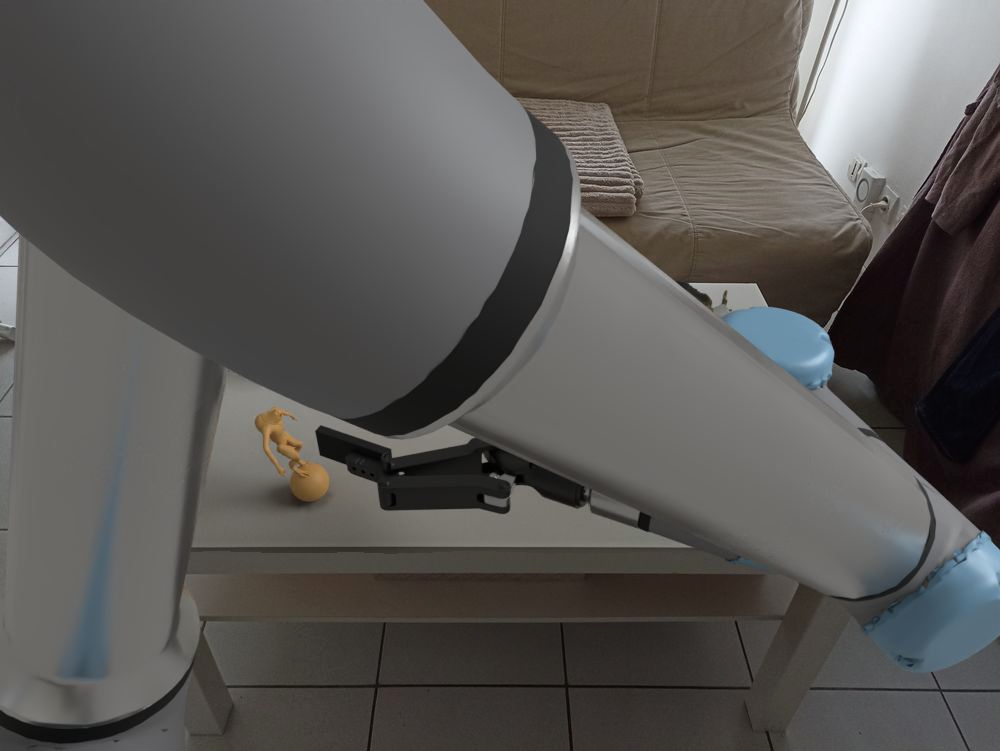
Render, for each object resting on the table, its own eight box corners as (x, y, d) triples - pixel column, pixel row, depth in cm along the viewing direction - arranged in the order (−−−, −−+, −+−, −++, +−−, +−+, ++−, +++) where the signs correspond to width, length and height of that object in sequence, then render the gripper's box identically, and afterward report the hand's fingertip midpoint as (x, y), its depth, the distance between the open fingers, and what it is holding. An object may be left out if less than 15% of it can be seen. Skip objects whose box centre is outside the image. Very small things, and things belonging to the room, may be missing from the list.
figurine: (327, 524, 76) (311, 437, 69) (267, 527, 76) (244, 440, 68) (335, 466, 83) (320, 381, 75) (279, 469, 82) (259, 383, 75)
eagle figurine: (715, 301, 109) (656, 290, 108) (738, 280, 102) (674, 268, 101) (713, 350, 106) (652, 339, 105) (736, 332, 99) (671, 320, 98)
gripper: (536, 620, 52) (284, 520, 59) (638, 406, 70) (436, 349, 77) (540, 550, 47) (266, 451, 54) (648, 340, 65) (432, 286, 72)
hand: (365, 391), depth 65 cm, fingers open, 13 cm apart
